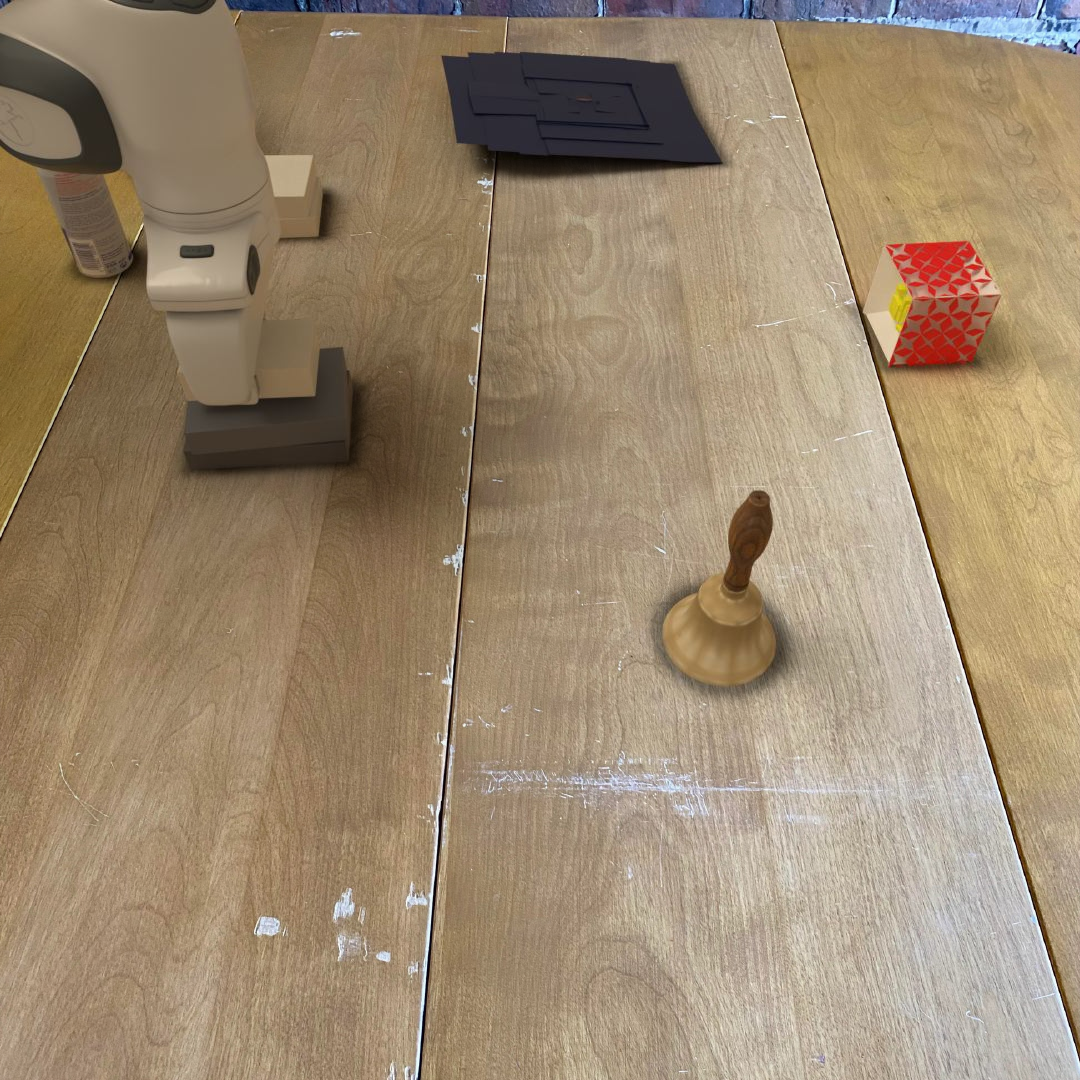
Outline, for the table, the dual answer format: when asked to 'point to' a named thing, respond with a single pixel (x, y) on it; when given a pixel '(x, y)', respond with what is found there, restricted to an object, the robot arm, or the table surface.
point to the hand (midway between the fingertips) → (253, 367)
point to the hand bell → (727, 610)
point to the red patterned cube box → (930, 302)
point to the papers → (574, 106)
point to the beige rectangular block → (282, 360)
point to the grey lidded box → (276, 425)
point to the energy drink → (88, 222)
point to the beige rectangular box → (296, 194)
